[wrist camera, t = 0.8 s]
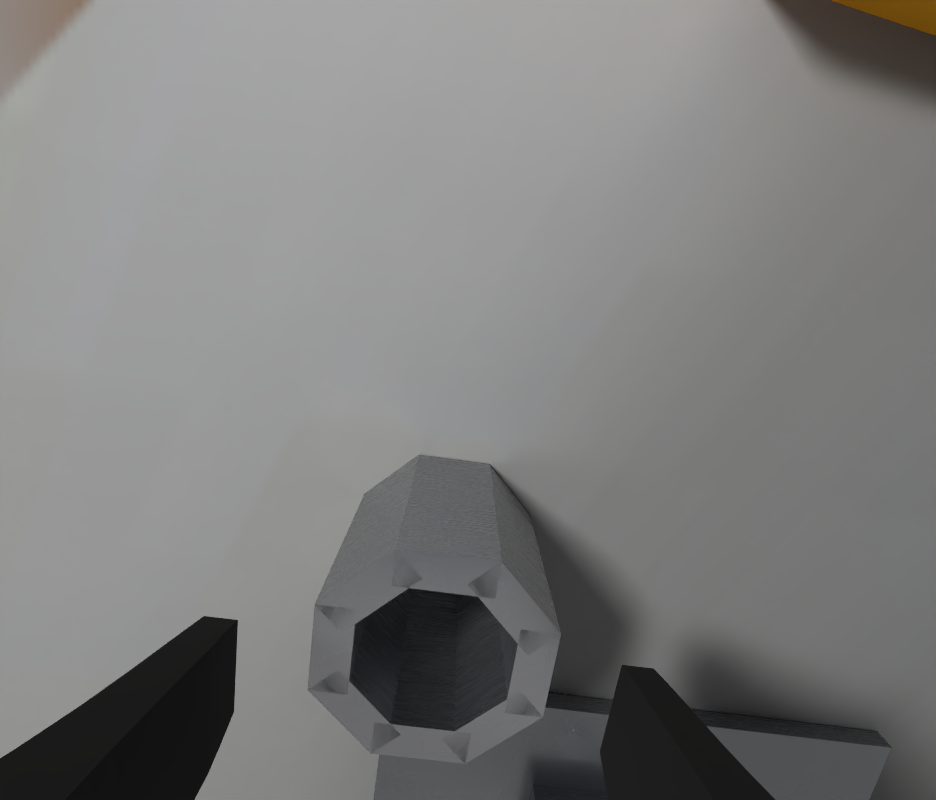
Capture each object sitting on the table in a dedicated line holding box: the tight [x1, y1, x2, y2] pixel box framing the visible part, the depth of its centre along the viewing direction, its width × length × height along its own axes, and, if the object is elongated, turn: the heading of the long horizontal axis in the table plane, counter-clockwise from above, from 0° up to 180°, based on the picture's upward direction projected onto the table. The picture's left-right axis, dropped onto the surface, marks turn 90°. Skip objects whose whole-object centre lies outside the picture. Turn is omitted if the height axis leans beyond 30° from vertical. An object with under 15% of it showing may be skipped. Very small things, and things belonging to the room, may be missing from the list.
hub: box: [308, 455, 561, 764], centre depth 13 cm, size 5×5×5 cm
